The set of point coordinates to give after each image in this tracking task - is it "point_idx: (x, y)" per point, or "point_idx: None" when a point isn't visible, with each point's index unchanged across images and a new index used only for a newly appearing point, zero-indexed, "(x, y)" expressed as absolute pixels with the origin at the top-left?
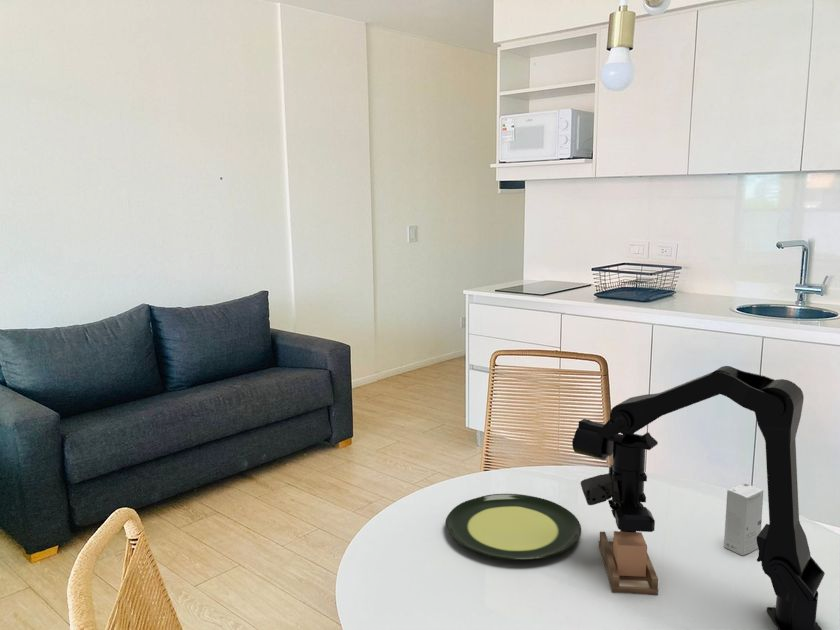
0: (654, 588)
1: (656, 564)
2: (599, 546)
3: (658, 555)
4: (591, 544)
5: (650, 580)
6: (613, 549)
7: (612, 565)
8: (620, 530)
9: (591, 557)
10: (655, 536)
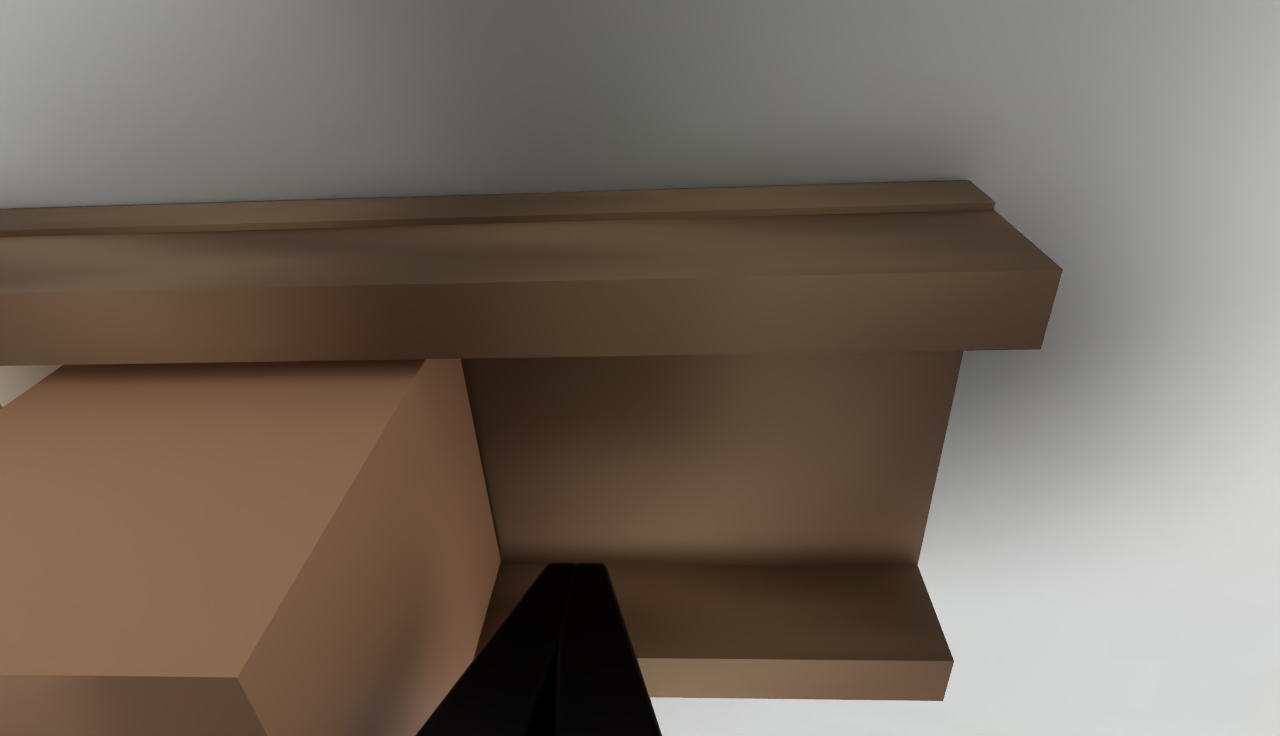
0: None
1: None
2: (922, 185)
3: None
4: (1013, 74)
5: None
6: (363, 412)
7: (14, 325)
8: (600, 689)
9: (644, 35)
10: (1082, 699)
